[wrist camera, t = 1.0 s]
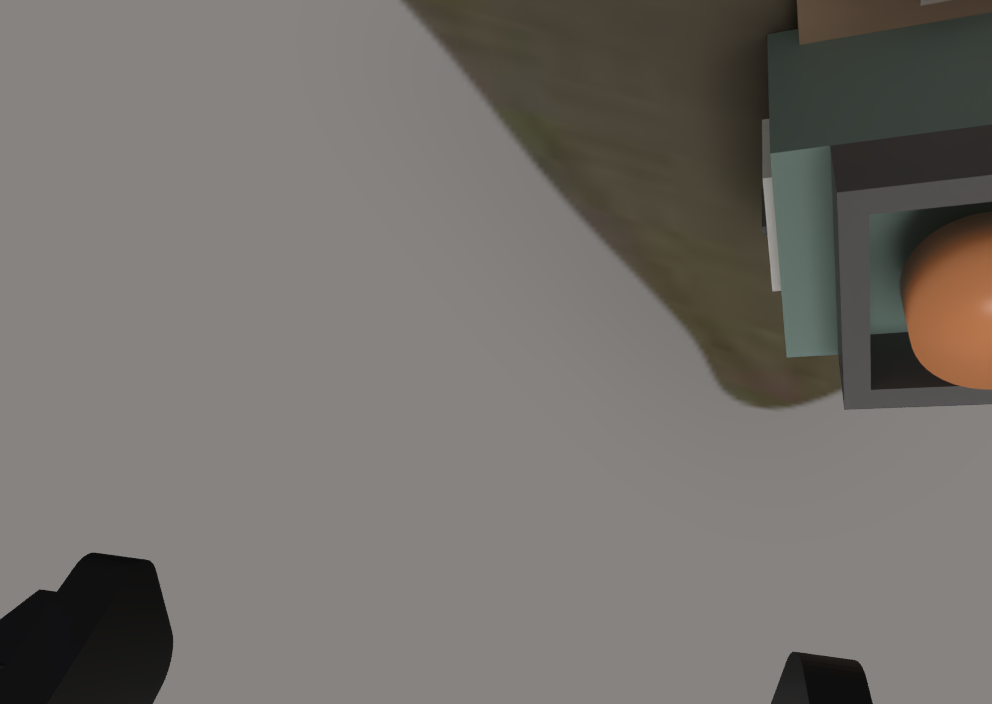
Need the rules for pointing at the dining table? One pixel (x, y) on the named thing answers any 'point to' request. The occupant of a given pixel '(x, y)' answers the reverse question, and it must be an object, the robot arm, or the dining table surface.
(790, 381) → the dining table surface
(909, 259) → the button
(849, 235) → the cabinet
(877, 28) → the rail stand
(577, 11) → the dining table surface
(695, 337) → the dining table surface
